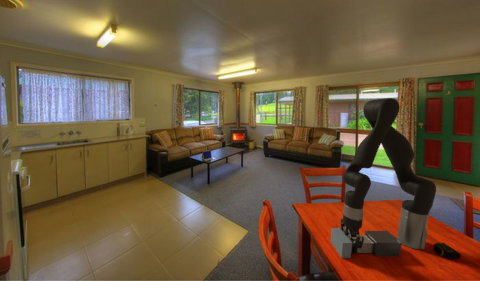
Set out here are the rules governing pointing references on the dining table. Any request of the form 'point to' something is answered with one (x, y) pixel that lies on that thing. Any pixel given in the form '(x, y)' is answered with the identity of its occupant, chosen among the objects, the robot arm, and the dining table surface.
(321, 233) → the dining table surface
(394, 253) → the sleeve
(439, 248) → the tape measure
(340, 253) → the grey block
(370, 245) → the light grey square bar
